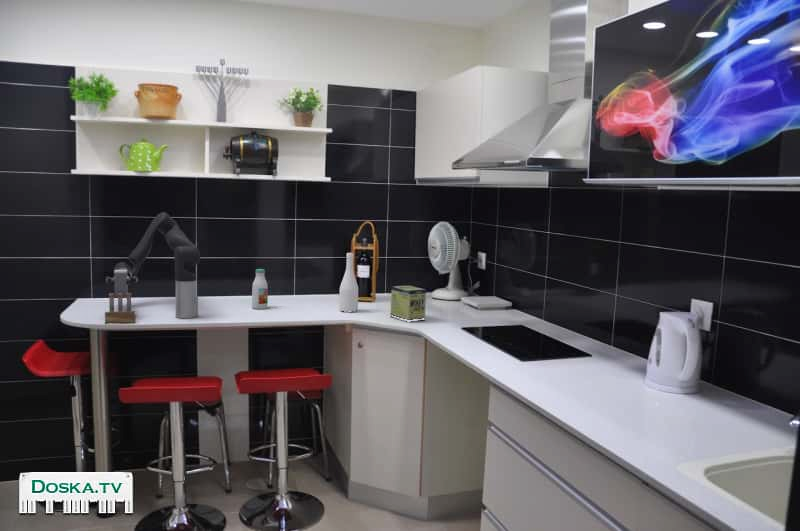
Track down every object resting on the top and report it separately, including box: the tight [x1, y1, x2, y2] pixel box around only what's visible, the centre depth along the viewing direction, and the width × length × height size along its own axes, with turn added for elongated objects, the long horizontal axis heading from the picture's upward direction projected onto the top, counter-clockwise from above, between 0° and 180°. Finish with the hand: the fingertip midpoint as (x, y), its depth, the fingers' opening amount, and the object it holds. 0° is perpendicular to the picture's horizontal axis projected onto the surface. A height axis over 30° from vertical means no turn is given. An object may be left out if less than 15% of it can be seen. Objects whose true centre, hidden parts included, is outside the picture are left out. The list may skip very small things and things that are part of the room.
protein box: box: [389, 285, 427, 320], centre depth 322 cm, size 10×16×16 cm
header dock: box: [104, 292, 137, 325], centre depth 295 cm, size 16×12×13 cm
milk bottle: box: [251, 268, 269, 310], centre depth 334 cm, size 8×8×20 cm
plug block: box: [113, 270, 128, 299], centre depth 294 cm, size 5×5×12 cm
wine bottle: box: [338, 252, 359, 313], centre depth 334 cm, size 10×10×30 cm
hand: (120, 282), depth 292 cm, fingers closed on plug block, 5 cm apart
